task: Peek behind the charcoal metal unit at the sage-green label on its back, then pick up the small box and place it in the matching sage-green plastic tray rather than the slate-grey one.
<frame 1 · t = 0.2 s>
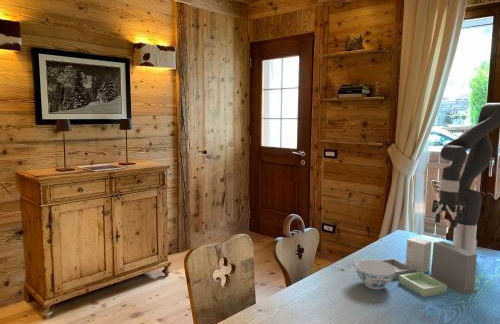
hand: (445, 224, 175), 18 cm above the table, tool pointing down, fingers open, 8 cm apart
sage tray: (421, 287, 151), on the table
small box: (417, 269, 169), on the table
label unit: (451, 283, 155), on the table
chinaware: (374, 286, 151), on the table
grey tray: (393, 271, 166), on the table
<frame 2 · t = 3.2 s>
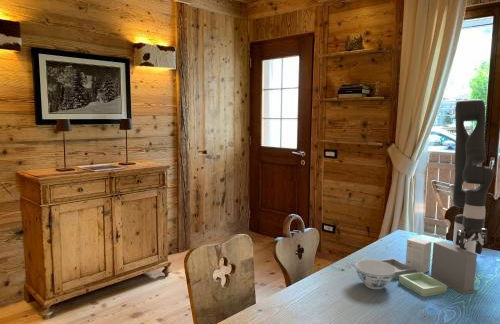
hand: (470, 254, 156), 11 cm above the table, tool pointing down, fingers open, 8 cm apart
nothing on the table moved.
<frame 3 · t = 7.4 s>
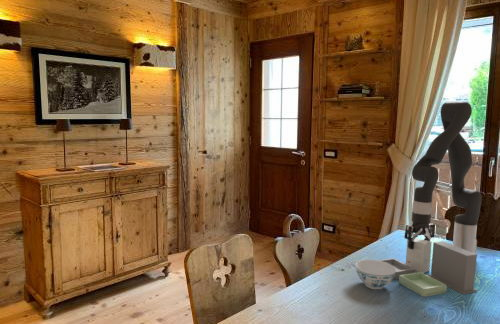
hand: (418, 248, 168), 10 cm above the table, tool pointing down, fingers open, 8 cm apart
small box: (417, 269, 169), on the table, touching gripper
everything else where it was.
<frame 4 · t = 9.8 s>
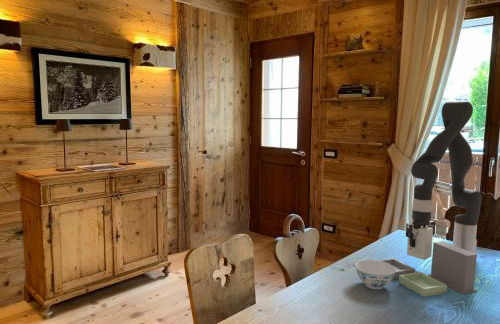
hand: (419, 245, 168), 11 cm above the table, tool pointing down, fingers closed on small box, 7 cm apart
small box: (418, 256, 168), point 6 cm above the table, touching gripper
everything else where it was.
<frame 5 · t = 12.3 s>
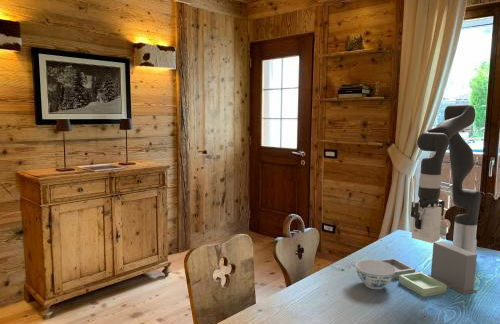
hand: (426, 227, 148), 24 cm above the table, tool pointing down, fingers closed on small box, 7 cm apart
small box: (425, 239, 149), point 19 cm above the table, touching gripper
everything else where it was.
when the fingers open (7 cm above the table, at t = 16.2 s): small box drops 1 cm, resting on sage tray.
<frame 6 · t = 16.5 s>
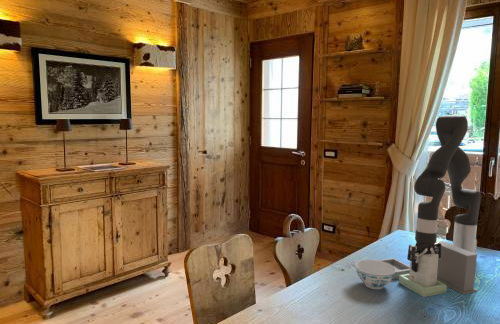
hand: (423, 270, 150), 7 cm above the table, tool pointing down, fingers open, 8 cm apart
small box: (422, 285, 151), point 1 cm above the table, touching sage tray
everything else where it was.
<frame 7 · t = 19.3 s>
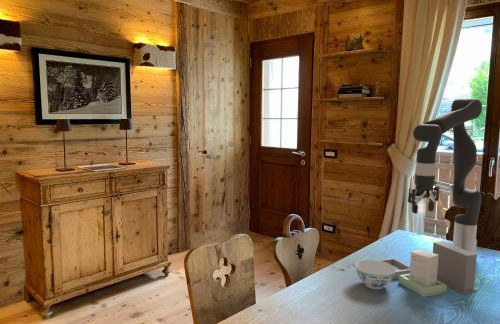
hand: (422, 212, 160), 27 cm above the table, tool pointing down, fingers open, 8 cm apart
nothing on the table moved.
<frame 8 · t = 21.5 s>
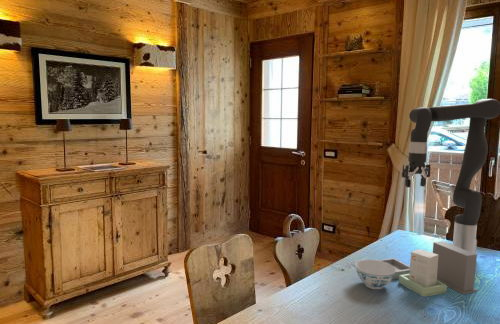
hand: (415, 186, 178), 34 cm above the table, tool pointing down, fingers open, 8 cm apart
nothing on the table moved.
at the end: small box 0.3 cm off-centre on the sage tray, point 0.6 cm above the sage tray's base; small box tilted 0°; the gripper is holding nothing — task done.
